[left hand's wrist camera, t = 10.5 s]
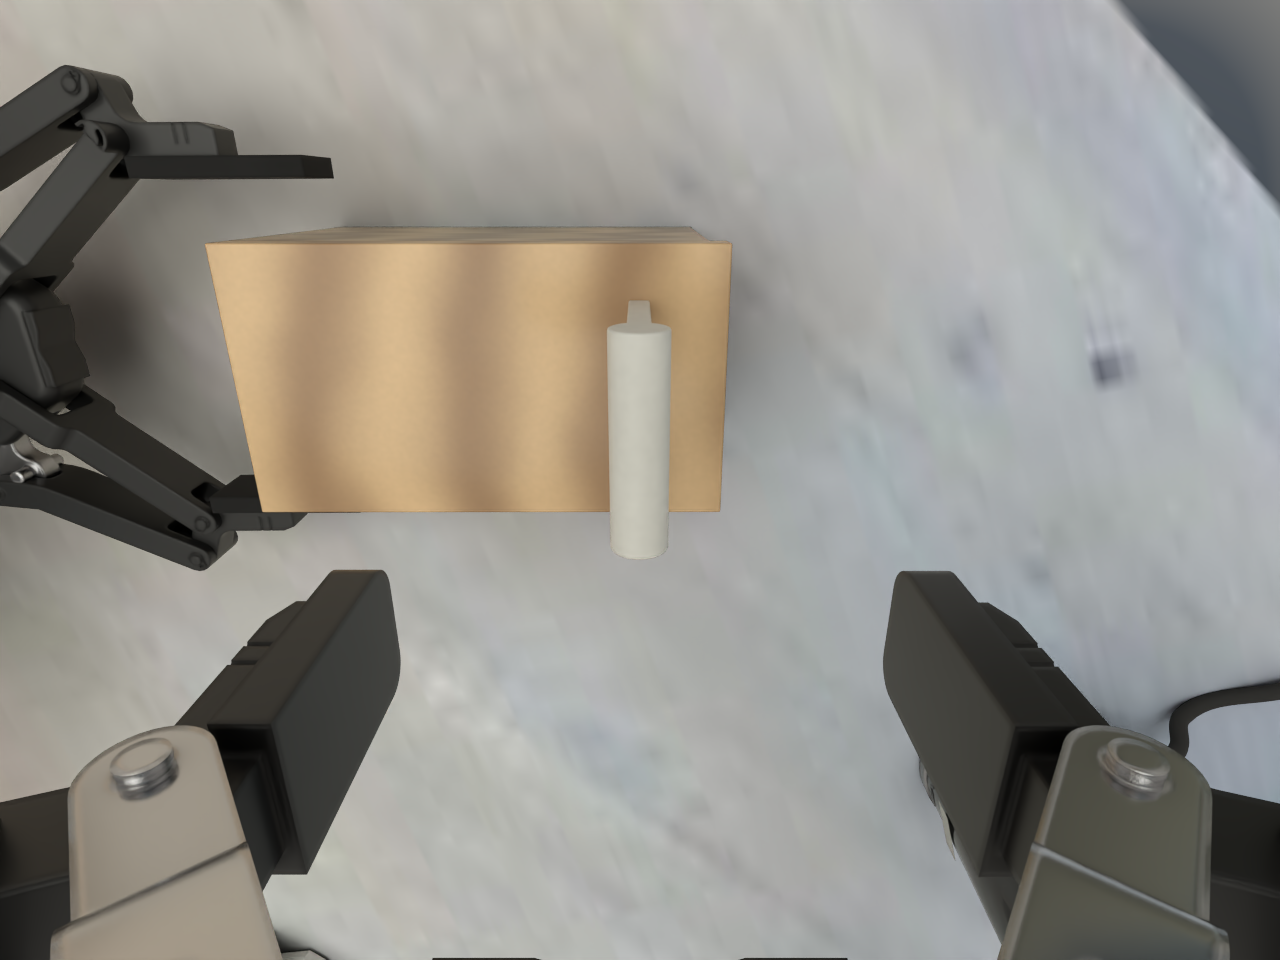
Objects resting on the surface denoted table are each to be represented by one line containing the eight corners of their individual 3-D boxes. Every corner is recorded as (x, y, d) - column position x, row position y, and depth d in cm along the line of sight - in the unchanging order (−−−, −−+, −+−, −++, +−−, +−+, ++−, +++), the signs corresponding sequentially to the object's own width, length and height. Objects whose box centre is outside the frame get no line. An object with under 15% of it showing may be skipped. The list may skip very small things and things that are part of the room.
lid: (727, 240, 25) (767, 262, 17) (716, 498, 28) (745, 612, 21) (225, 240, 25) (39, 262, 17) (277, 498, 28) (144, 612, 21)
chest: (690, 226, 34) (710, 240, 25) (685, 421, 38) (701, 498, 28) (340, 226, 34) (225, 240, 25) (369, 421, 38) (278, 498, 28)
